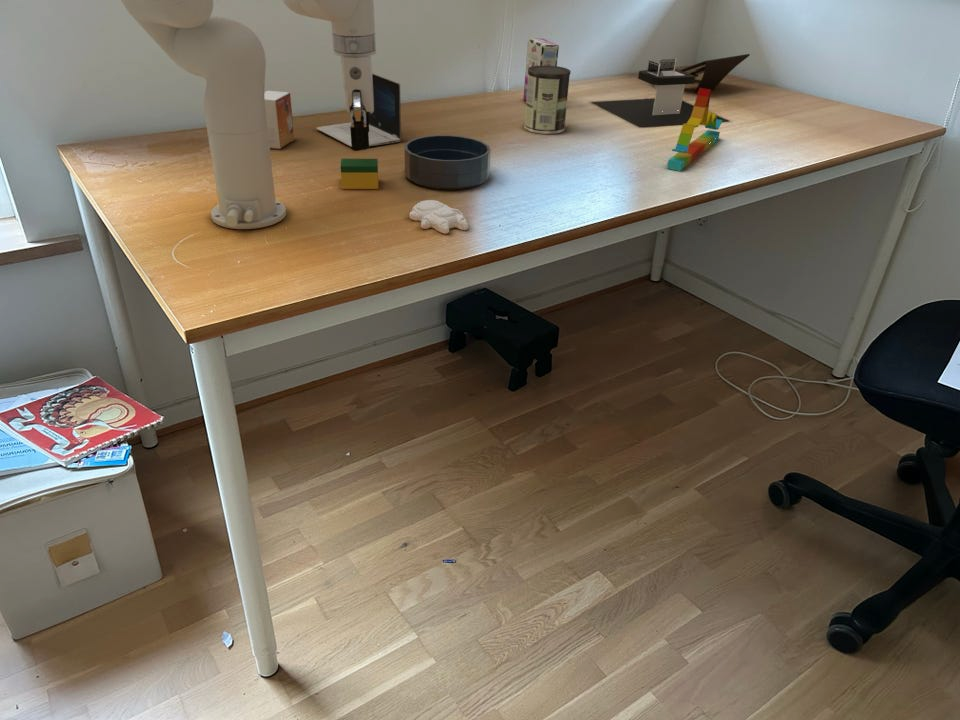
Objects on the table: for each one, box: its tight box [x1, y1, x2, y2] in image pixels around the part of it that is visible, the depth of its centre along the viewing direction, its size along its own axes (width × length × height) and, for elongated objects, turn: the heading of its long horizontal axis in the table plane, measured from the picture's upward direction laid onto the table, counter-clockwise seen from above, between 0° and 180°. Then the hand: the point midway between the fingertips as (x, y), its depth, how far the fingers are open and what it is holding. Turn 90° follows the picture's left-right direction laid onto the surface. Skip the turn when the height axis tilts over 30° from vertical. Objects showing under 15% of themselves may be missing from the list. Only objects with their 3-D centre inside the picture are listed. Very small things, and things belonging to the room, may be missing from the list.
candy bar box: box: [522, 37, 560, 102], centre depth 200 cm, size 11×5×16 cm, turn 17°
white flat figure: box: [408, 199, 469, 235], centre depth 129 cm, size 9×12×3 cm
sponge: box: [340, 158, 379, 190], centre depth 143 cm, size 5×7×4 cm
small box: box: [264, 90, 295, 150], centre depth 161 cm, size 8×6×10 cm
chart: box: [666, 88, 723, 172], centre depth 167 cm, size 30×3×15 cm, turn 149°
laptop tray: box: [680, 53, 750, 93], centre depth 228 cm, size 23×23×9 cm
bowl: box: [403, 134, 492, 191], centre depth 149 cm, size 17×17×6 cm
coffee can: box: [523, 65, 572, 135], centre depth 180 cm, size 10×10×14 cm
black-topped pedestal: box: [592, 58, 730, 128], centre depth 200 cm, size 28×26×13 cm
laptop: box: [315, 72, 402, 148], centre depth 168 cm, size 18×12×13 cm
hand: (360, 139), depth 140 cm, fingers open, 9 cm apart
